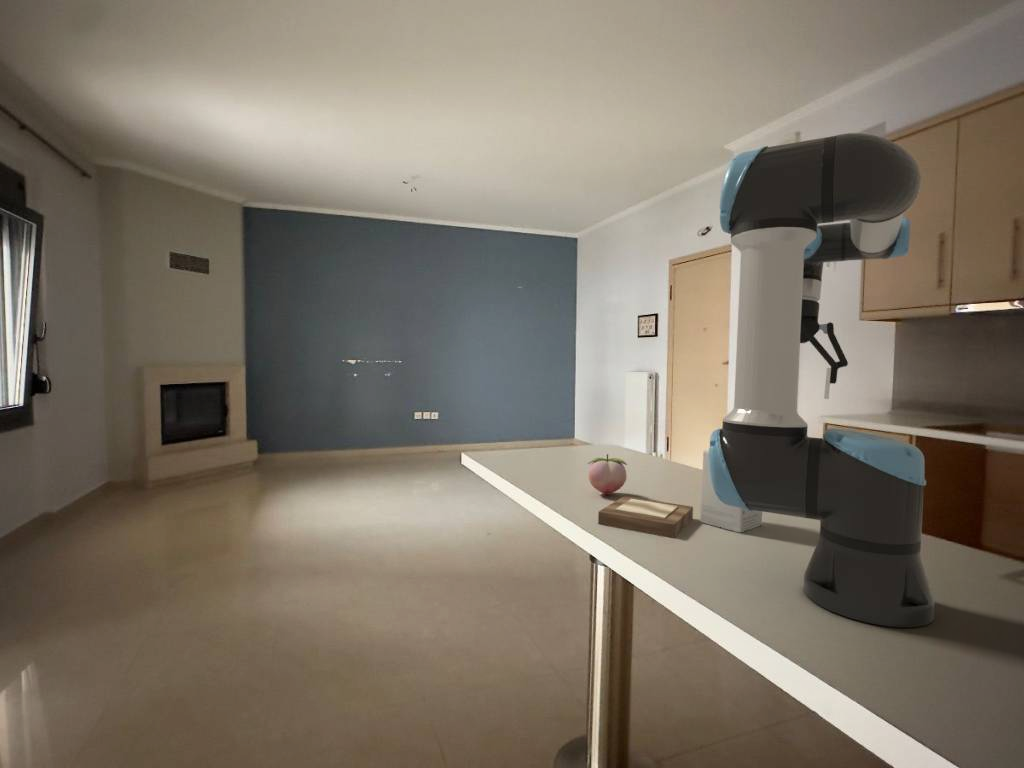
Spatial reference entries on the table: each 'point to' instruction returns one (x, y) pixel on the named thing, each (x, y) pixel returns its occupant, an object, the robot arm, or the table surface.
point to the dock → (646, 516)
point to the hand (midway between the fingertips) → (791, 395)
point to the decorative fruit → (607, 474)
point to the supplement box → (723, 507)
